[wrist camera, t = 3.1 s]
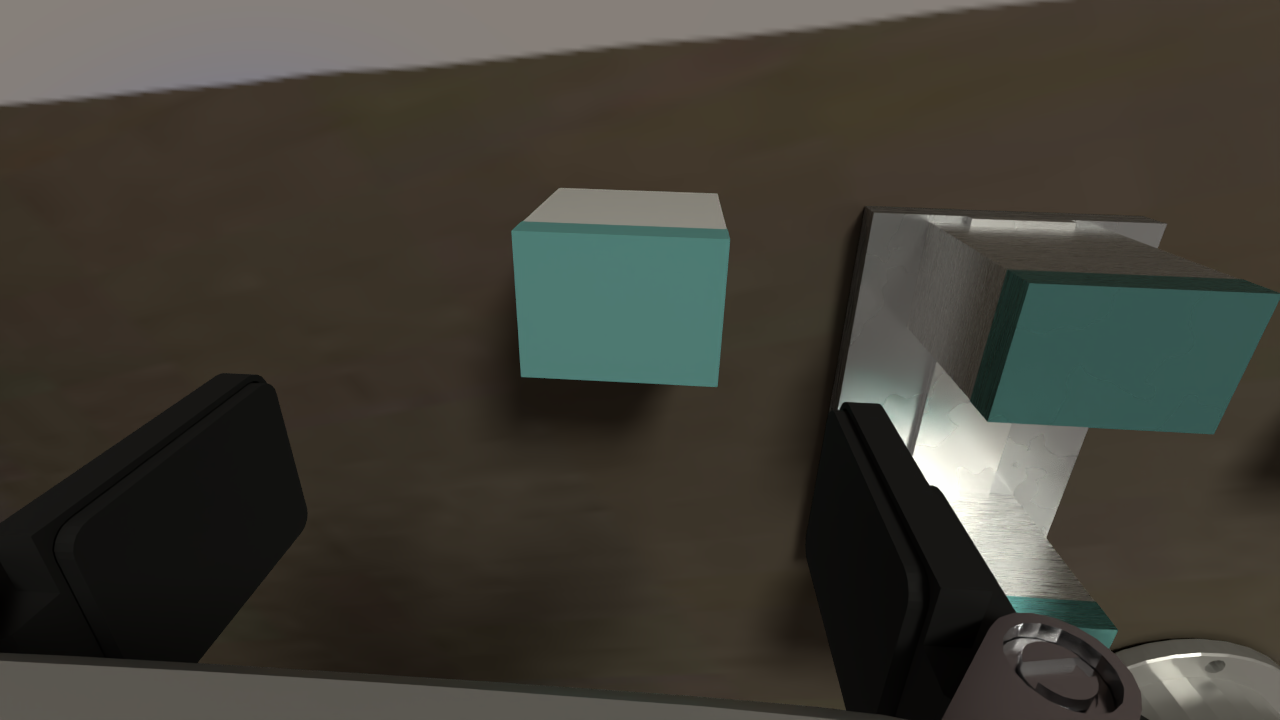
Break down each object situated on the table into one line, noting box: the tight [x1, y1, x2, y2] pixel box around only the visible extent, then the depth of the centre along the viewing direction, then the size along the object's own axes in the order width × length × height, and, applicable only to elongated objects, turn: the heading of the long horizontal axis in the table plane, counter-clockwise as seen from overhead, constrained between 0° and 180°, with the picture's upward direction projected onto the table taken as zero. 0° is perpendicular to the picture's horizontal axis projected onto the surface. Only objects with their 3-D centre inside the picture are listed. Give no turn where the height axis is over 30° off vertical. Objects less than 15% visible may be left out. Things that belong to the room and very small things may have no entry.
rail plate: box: [829, 206, 1280, 649], centre depth 22 cm, size 16×10×8 cm, turn 179°
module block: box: [512, 188, 730, 387], centre depth 21 cm, size 4×6×7 cm
